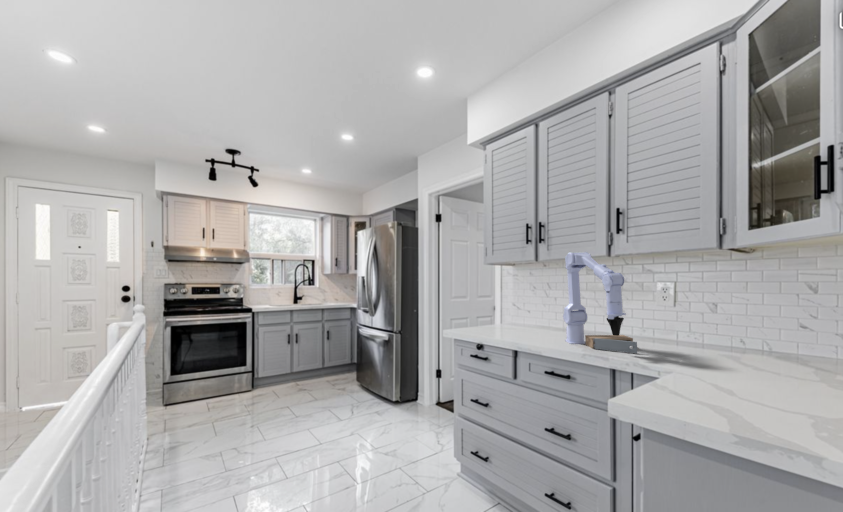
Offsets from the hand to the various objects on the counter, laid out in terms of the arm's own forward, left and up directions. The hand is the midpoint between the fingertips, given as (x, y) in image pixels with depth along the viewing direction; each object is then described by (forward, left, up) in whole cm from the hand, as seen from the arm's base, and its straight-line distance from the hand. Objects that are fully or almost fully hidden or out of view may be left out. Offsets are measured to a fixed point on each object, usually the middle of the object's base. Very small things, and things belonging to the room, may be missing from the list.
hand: (616, 335), depth 150 cm
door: (-5, +1, -7) cm, 9 cm away
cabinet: (-15, +3, -8) cm, 17 cm away
